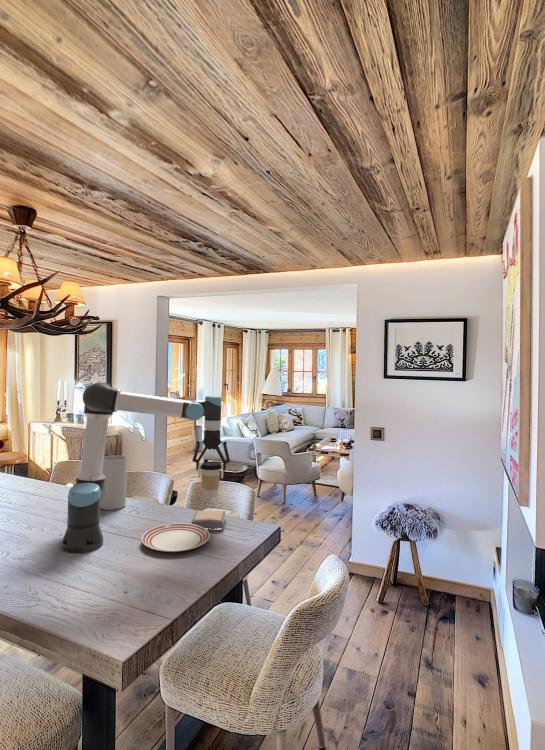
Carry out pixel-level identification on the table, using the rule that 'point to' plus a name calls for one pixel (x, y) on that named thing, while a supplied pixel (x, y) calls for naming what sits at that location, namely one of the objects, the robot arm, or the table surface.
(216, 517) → the trivet base
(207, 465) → the coffee cup
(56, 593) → the table surface
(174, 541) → the dinner plate
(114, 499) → the cylinder vase
